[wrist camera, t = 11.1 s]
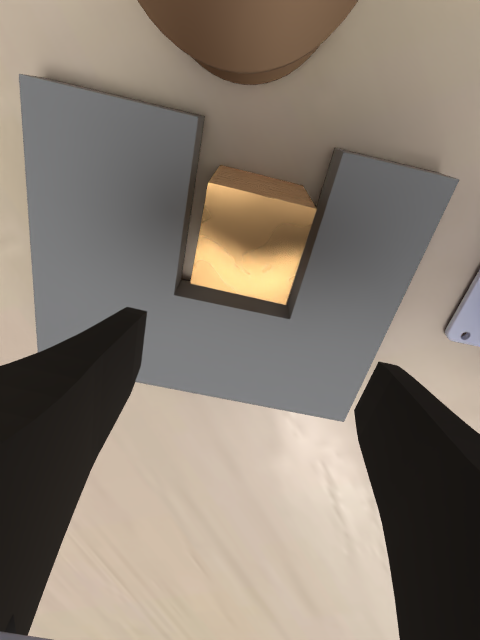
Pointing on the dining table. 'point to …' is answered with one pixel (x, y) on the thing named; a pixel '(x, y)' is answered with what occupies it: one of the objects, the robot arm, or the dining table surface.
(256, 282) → the block
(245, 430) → the dining table surface
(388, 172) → the notched board
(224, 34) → the bobbin
